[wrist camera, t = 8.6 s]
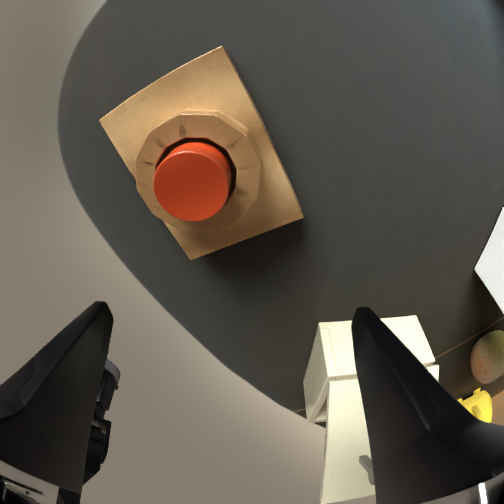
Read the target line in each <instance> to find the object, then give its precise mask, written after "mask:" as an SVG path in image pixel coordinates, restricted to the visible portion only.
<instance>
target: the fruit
mask: <svg viewBox="0 0 504 504" xmlns="http://www.w3.org/2000/svg"><path fill="white" fill-rule="evenodd" d="M470 363H471V369H472V373H473V375H474V377H475V378H476V380H477V381H479V382H480V383H483V384H488V383H491V382H492V381H494V380H495V379H497V378H498V377H499V376H501V375H502V374H503V373H504V331H501V330H495V331H493V332H489V333H488V334H486V335H484V336H483V337H482V338H480V339H479V340H478V341H477V342H476V344H475V345H474V347H473V349H472V352H471V359H470ZM502 377H503V378H504V376H503V375H502Z"/></svg>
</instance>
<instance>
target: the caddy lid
mask: <svg viewBox="0 0 504 504" xmlns="http://www.w3.org/2000/svg"><path fill="white" fill-rule="evenodd" d="M425 367H426V368H427V370H428V371H429V372H430V373H431V374H432V375H433V376H434V377H435V378H436V379H437V381H438V378H439V365H430V366H425ZM374 494H376V493H375V484H374V475H373V467H372V459H371V452H370V445H369V438H368V432H367V426H366V420H365V414H364V409H363V403H362V398H361V393H360V388H359V383H358V378H357V377H356V378H347V379H337V380H328V389H327V416H326V434H325V449H324V461H323V473H322V483H321V492H320V503H321V504H326V503H333V502H339V501H345V500H351V499H356V498H360V497H365V496H370V495H374Z"/></svg>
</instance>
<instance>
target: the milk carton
mask: <svg viewBox="0 0 504 504" xmlns="http://www.w3.org/2000/svg"><path fill="white" fill-rule="evenodd" d="M475 272H476V273H477V274H478V276H479V277H480V279H481V280H482V281H483V283H484V284H485V286H486V287H487V289H488V290H489V292H490V293H491V295H492V296H493V298H494V299H495V301H496V303H497V304H498V306H499V307H500V309H501V311H502V312H503V314H504V208H503V209H502V211H501V213H500V215H499V218H498V220H497V223H496V225H495V227H494V230H493V232H492V234H491V236H490V238H489V241H488V243H487V245H486V247H485V249H484V251H483V253H482V255H481V257H480V259H479V261H478V263H477V265H476V267H475Z"/></svg>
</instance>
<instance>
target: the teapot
mask: <svg viewBox="0 0 504 504" xmlns="http://www.w3.org/2000/svg"><path fill="white" fill-rule="evenodd" d="M480 389H481V388H478V389H477V390H475V391H474V392H473V396H471V397H469V398H467V399H466V400H464V401H463V400H462V398H460V399H458V401H459V402H460V403H461V404H462V405H463V406H464V407H465V408H466V409H467V410H468V411H469V412H470V413H471V414H473V415H474V416H475V417H476V418H478V419H480V420H482V421H484V422H487V423H491V421H492V402H491V398H490V395H489V394H488V393H487V392H486V391H485V390H483V391H481V392H480Z"/></svg>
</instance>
